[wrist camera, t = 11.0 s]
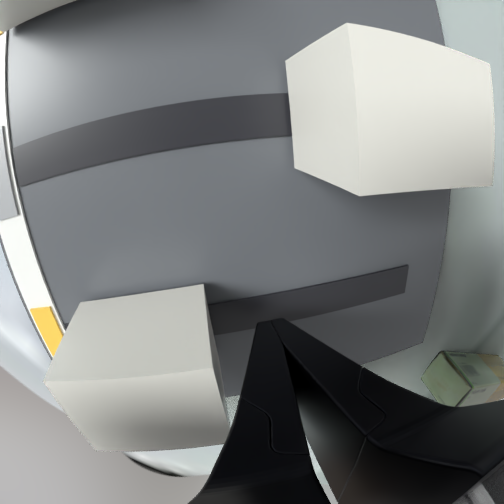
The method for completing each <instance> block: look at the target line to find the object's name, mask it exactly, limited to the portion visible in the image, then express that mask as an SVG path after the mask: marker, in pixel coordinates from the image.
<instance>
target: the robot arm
mask: <svg viewBox="0 0 504 504" xmlns="http://www.w3.org/2000/svg"><path fill="white" fill-rule="evenodd" d="M305 435H306V436H305ZM306 438H307V440H308V442H309V444H310V446H311V448H312V450H313V452H314V455H315V457H316V459H317V461H318V463H319V465H320V467H321V469H322V471H323V473H324V475H325V478H326V480H327V482H328V484H329V486H330V488H331V490H332V492H333V494H334V496H335V498H336V500H337V502H338V504H504V400H499V401H494V402H489V403H483V404H477V405H470V406H463V407H455V406H448V405H444V404H441V403H438V402H436V401H433V400H431V399H428V398H426V397H423V396H421V395H419V394H416V393H414V392H412V391H409V390H407V389H405V388H402V387H400V386H398V385H396V384H394V383H392V382H390V381H387V380H386V379H384V378H382V377H380V376H378V375H376V374H375V373H373V372H371V371H369V370H368V369H366V368H362V366H361V365H359V364H357V363H356V362H354V361H352V360H351V359H349V358H347V357H346V356H344V355H343V354H341V353H339V352H338V351H336V350H334V349H333V348H331V347H329V346H328V345H326V344H325V343H323V342H321V341H320V340H318V339H316V338H315V337H313V336H312V335H310V334H308V333H307V332H305V331H304V330H302V329H300V328H299V327H297V326H296V325H294V324H292V323H291V322H289V321H288V320H286V319H285V318H277V319H272V320H270V321H269V320H267V321H262V322H258V323H257V325H256V329H255V334H254V338H253V342H252V347H251V351H250V355H249V360H248V364H247V368H246V373H245V377H244V381H243V385H242V390H241V394H240V399H239V401H238V406H237V410H236V413H235V416H234V420H233V423H232V426H231V429H230V431H229V434H228V436H227V439H226V441H225V443H224V446H223V448H222V450H221V452H220V454H219V457H218V459H217V461H216V463H215V465H214V467H213V470H212V472H211V474H210V476H209V478H208V480H207V482H206V483H205V485H204V487H203V488H202V489H201V491H200V492H199V493H198V494H197V495H196V497H194V498H193V500H191V501H190V502H189V503H188V504H331V503H330V501H329V499H328V498H327V496H326V494H325V492H324V490H323V488H322V486H321V484H320V482H319V480H318V478H317V476H316V474H315V471H314V468H313V465H312V461H311V458H310V453H309V449H308V445H307V440H306Z"/></svg>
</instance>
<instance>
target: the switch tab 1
mask: <svg viewBox="0 0 504 504" xmlns="http://www.w3.org/2000/svg"><path fill="white" fill-rule="evenodd" d="M73 1H76V0H0V31H2V32H6V31H8V30H10V29H11V28H13V27H15V26H17V25H19V24H21V23H23V22H25V21H27V20H29V19H32V18H34V17H36V16H38V15H40V14H43V13H45V12H47V11H50V10H52V9H54V8H57V7H60V6H62V5H65V4H67V3H70V2H73Z"/></svg>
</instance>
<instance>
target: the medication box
mask: <svg viewBox="0 0 504 504" xmlns="http://www.w3.org/2000/svg"><path fill="white" fill-rule="evenodd" d="M421 379H422V381H423V382H424V383H425V385H426V386H427V388H428V389H429V390H430V392H431V393H432V395H433V396H434V397H435V399H436V400H437V402H438V403H441V404H444V405H448V406H455V407H463V406H470V405H477V404H483V403H489V402H494V401H498V400H500V399H503V398H504V361H503V360H502V359H501V358H500V357H499V356H498V355H489V354H475V353H462V352H450V351H441V352H439V353H438V355H437V356H436V357H435V359H434V360H433V361H432V362H431V364H430V365H429V366H428V368H427V369H426V371H425V372H424V374H423V376H422V377H421Z"/></svg>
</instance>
